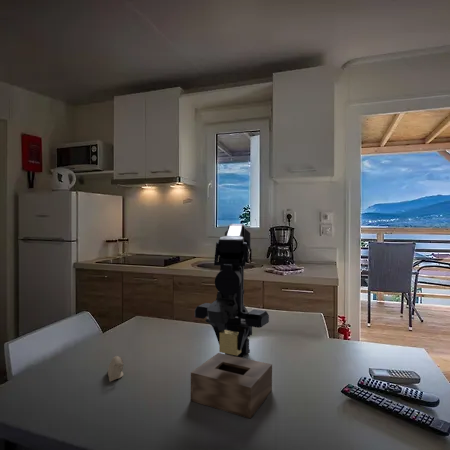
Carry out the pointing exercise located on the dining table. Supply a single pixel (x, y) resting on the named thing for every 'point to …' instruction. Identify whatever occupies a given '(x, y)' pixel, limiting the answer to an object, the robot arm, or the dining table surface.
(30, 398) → the dining table surface
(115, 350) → the dining table surface
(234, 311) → the robot arm
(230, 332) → the yellow square block
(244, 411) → the walnut box
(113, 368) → the decorative ornament
